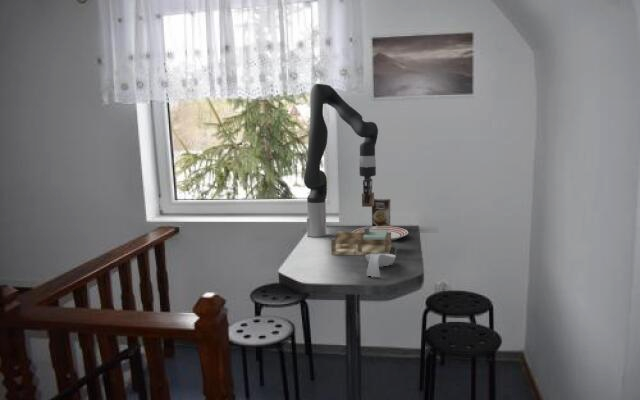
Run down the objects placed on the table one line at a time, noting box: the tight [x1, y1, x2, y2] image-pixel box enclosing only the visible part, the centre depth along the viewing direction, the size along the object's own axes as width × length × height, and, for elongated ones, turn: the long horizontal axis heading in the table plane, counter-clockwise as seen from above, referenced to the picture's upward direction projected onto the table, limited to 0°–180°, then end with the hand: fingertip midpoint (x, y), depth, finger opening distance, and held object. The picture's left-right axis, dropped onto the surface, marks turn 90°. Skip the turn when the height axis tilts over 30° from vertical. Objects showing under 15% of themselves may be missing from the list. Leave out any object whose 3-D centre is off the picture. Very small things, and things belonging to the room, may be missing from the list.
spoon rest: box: [365, 253, 397, 278], centre depth 188 cm, size 24×12×7 cm, turn 165°
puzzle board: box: [330, 231, 392, 256], centre depth 215 cm, size 24×16×7 cm
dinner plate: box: [352, 225, 409, 242], centre depth 243 cm, size 27×27×3 cm
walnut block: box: [361, 191, 375, 208], centre depth 231 cm, size 5×5×6 cm
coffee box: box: [371, 198, 391, 227], centre depth 262 cm, size 9×6×16 cm
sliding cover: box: [363, 225, 388, 240], centre depth 213 cm, size 9×16×4 cm, turn 168°
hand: (368, 202), depth 231 cm, fingers closed on walnut block, 5 cm apart
